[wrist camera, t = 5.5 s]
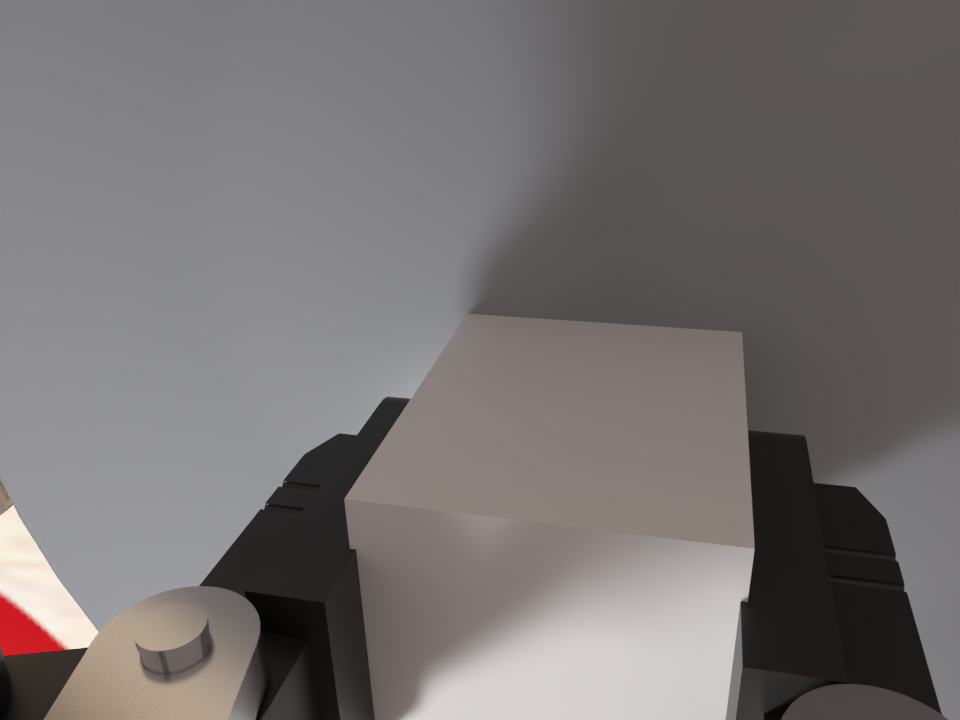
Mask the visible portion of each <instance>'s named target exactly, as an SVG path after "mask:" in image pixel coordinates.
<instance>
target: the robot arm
mask: <svg viewBox="0 0 960 720" xmlns="http://www.w3.org/2000/svg"><path fill="white" fill-rule="evenodd" d="M409 401H410V399H408V398H397V397H386V398H384V399H383V400H382V401H381V403H380V404H379V405H378V407H377V408H376V409H375V411H374V412H373V414H372V415H371V416H370V418H369V419H368V420H367V422H366V423H365V425H364V426H363V427H362V429H361V430H360V432H359V433H358V434H357V435H351V434H341V433H339V434H337V435H335V436H334V437H332V438H330V439H329V440H327V441H325V442H324V443H322V444H320V445H319V446H317V447H316V448H314V449H312V450H311V451H309V452H307V453H306V454H304V455H303V456H302V458H301V459H300V460H299V461H298V463H297V464H296V465H295V466H294V468H293V469H292V470H291V471H290V473H289V474H288V475H287V476H286V478H285V479H284V480H283V485H282V487H279V486H278V488H277V489H276V490H275V491H274V493H273V494H272V495H271V496H270V498H269V499H268V500H267V501H266V503H265V508H264V510H263V509H260V510H259V511H258V513H257V514H256V515H255V516H254V518H253V519H252V520H251V521H250V523H249V524H248V525H247V526H246V528H245V529H244V530H243V531H242V533H241V534H240V535H239V537H238V538H237V539H236V540H235V542H234V543H233V544H232V545H231V547H230V548H229V549H228V550H227V552H226V553H225V554H224V555H223V557H222V558H221V559H220V560H219V562H218V563H217V564H216V565H215V567H214V568H213V569H212V570H211V572H210V573H209V574H208V575H207V577H206V578H205V579H204V580H203V582H202V583H201V584H200V585H199V586H192V587H184V588H177V589H173V590H169V591H165V592H161V593H158V594H156V595H153V596H150V597H148V598H145V599H143V600H141V601H139V602H137V603H135V604H133V605H132V606H130V607H128V608H127V609H125V610H123V611H122V612H120V613H119V614H118V615H117V616H115V617H114V618H113V619H112V620H110V621H109V622H108V623H107V624H106V625H105V626H104V627H103V628H102V629H101V630H100V632H99V633H98V634H97V636H96V637H95V638H94V640H93V641H92V643H91V644H90V646H89V647H88V648H81V649H71V650H61V651H51V652H40V653H30V654H20V655H9V656H3V653H2V650H1V648H0V720H375V717H374V708H373V699H372V690H371V681H370V671H369V662H368V653H367V644H366V635H365V626H364V617H363V608H362V599H361V589H360V580H359V571H358V562H357V553H356V549H350V546H349V537H348V528H347V519H346V510H345V502H344V499H345V497H346V496H347V494H348V493H349V491H350V490H351V488H352V487H353V485H354V484H355V482H356V481H357V479H358V478H359V476H360V475H361V473H362V472H363V470H364V469H365V467H366V465H367V464H368V462H369V461H370V459H371V458H372V456H373V455H374V453H375V452H376V450H377V449H378V447H379V446H380V444H381V443H382V441H383V440H384V438H385V437H386V435H387V434H388V432H389V431H390V429H391V428H392V426H393V425H394V423H395V422H396V420H397V419H398V417H399V416H400V414H401V413H402V411H403V410H404V408H405V407H406V405H407V404H408V402H409ZM748 442H749V459H750V477H751V494H752V511H753V528H754V545H755V550H754V558H753V565H752V573H751V581H750V588H749V596H748V602H742V601H741V602H740V610H739V618H738V625H737V633H736V641H735V649H734V657H733V665H732V673H731V681H730V689H729V697H728V705H727V713H726V720H948V719H947V718H946V717H944V716H943V715H942V713H941V710H940V706H939V703H938V699H937V696H936V692H935V689H934V685H933V682H932V678H931V675H930V671H929V668H928V664H927V661H926V657H925V654H924V650H923V647H922V643H921V640H920V636H919V633H918V629H917V626H916V622H915V619H914V615H913V612H912V608H911V605H910V601H909V598H908V594H907V592H904V585H905V584H904V580H903V577H902V573H901V570H900V566H899V563H898V561H896V552H895V549H894V545H893V542H892V538H891V535H890V531H889V528H888V524H887V521H886V518H885V517H884V516H883V515H882V514H881V513H880V512H879V511H878V510H877V509H876V508H875V507H874V506H873V505H872V504H871V503H870V502H869V501H868V500H867V498H866V497H865V496H864V495H863V494H862V493H861V492H860V491H859V490H858V489H857V488H856V487H849V486H840V485H830V484H820V483H814V482H813V476H812V470H811V464H810V459H809V453H808V447H807V441H806V438H805V436H804V435H795V434H784V433H774V432H763V431H752V430H748Z"/></svg>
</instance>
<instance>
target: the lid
mask: <svg viewBox="0 0 960 720" xmlns="http://www.w3.org/2000/svg"><path fill="white" fill-rule="evenodd" d="M386 397H397V398H408V399H410V401H409V402H408V404H407V405H406V407H405V408H404V410H403V411H402V413H401V414H400V416H399V417H398V419H397V420H396V422H395V423H394V425H393V426H392V428H391V429H390V431H389V432H388V434H387V435H386V437H385V438H384V440H383V441H382V443H381V444H380V446H379V447H378V449H377V450H376V452H375V453H374V455H373V456H372V458H371V459H370V461H369V462H368V464H367V465H366V467H365V469H364V470H363V472H362V473H361V475H360V476H359V478H358V479H357V481H356V482H355V484H354V485H353V487H352V488H351V490H350V491H349V493H348V494H347V496H346V497H345V499H344V502H345V510H346V519H347V528H348V537H349V546H350V549H356V553H357V562H358V571H359V580H360V589H361V599H362V608H363V617H364V626H365V635H366V644H367V653H368V662H369V671H370V681H371V690H372V699H373V708H374V717H375V720H726V713H727V705H728V697H729V689H730V681H731V673H732V665H733V657H734V649H735V641H736V633H737V625H738V618H739V610H740V602H741V601H742V602H748V596H749V588H750V581H751V573H752V565H753V558H754V550H755V545H754V528H753V511H752V494H751V477H750V459H749V442H748V430H752V431H763V432H774V433H784V434H795V435H804V436H805V438H806V441H807V447H808V453H809V459H810V464H811V470H812V476H813V482H814V483H820V484H830V485H840V486H849V487H856V488H857V489H858V490H859V491H860V492H861V493H862V494H863V495H864V496H865V497H866V498H867V500H868V501H869V502H870V503H871V504H872V505H873V506H874V507H875V508H876V509H877V510H878V511H879V512H880V513H881V514H882V515H883V516H884V517H885V518H886V521H887V524H888V528H889V531H890V535H891V538H892V542H893V545H894V549H895V552H896V561H898V563H899V566H900V570H901V573H902V577H903V580H904V584H905V585H904V592H907V594H908V598H909V601H910V605H911V608H912V612H913V615H914V619H915V622H916V626H917V629H918V633H919V636H920V640H921V643H922V647H923V650H924V654H925V657H926V661H927V664H928V668H929V671H930V675H931V678H932V682H933V685H934V689H935V692H936V696H937V699H938V703H939V706H940V710H941V713H942V715H943V716H944V717H946V718H947V719H948V720H960V0H0V478H1V480H2V482H3V484H4V486H5V488H6V490H7V492H8V494H9V497H10V499H11V501H12V503H13V505H14V507H15V509H16V511H17V513H18V515H19V517H20V518H21V520H22V521H23V523H24V525H25V526H26V528H27V529H28V531H29V533H30V534H31V536H32V537H33V539H34V541H35V542H36V544H37V545H38V547H39V549H40V550H41V552H42V553H43V555H44V557H45V558H46V560H47V561H48V563H49V565H50V566H51V568H52V569H53V571H54V573H55V574H56V576H57V577H58V579H59V580H60V582H61V583H62V584H63V585H64V587H65V588H66V589H67V591H68V592H69V593H70V595H71V596H72V597H73V599H74V600H75V601H76V602H77V604H78V605H79V606H80V608H81V609H82V610H83V612H84V613H85V614H86V616H87V617H88V618H89V619H90V621H91V622H92V623H93V625H94V626H95V627H96V629H97V630H98V631H99V632H100V630H101V629H102V628H103V627H104V626H105V625H106V624H107V623H108V622H109V621H110V620H112V619H113V618H114V617H115V616H117V615H118V614H119V613H120V612H122V611H123V610H125V609H127V608H128V607H130V606H132V605H133V604H135V603H137V602H139V601H141V600H143V599H145V598H148V597H150V596H153V595H156V594H158V593H161V592H165V591H169V590H173V589H177V588H184V587H192V586H199V585H200V584H201V583H202V582H203V580H204V579H205V578H206V577H207V575H208V574H209V573H210V572H211V570H212V569H213V568H214V567H215V565H216V564H217V563H218V562H219V560H220V559H221V558H222V557H223V555H224V554H225V553H226V552H227V550H228V549H229V548H230V547H231V545H232V544H233V543H234V542H235V540H236V539H237V538H238V537H239V535H240V534H241V533H242V531H243V530H244V529H245V528H246V526H247V525H248V524H249V523H250V521H251V520H252V519H253V518H254V516H255V515H256V514H257V513H258V511H259V510H260V509H263V510H264V508H265V503H266V501H267V500H268V499H269V498H270V496H271V495H272V494H273V493H274V491H275V490H276V489H277V488H278V486H279V487H282V485H283V480H284V479H285V478H286V476H287V475H288V474H289V473H290V471H291V470H292V469H293V468H294V466H295V465H296V464H297V463H298V461H299V460H300V459H301V458H302V456H303V455H304V454H306V453H307V452H309V451H311V450H312V449H314V448H316V447H317V446H319V445H320V444H322V443H324V442H325V441H327V440H329V439H330V438H332V437H334V436H335V435H337V434H339V433H341V434H351V435H357V434H358V433H359V432H360V430H361V429H362V427H363V426H364V425H365V423H366V422H367V420H368V419H369V418H370V416H371V415H372V414H373V412H374V411H375V409H376V408H377V407H378V405H379V404H380V403H381V401H382V400H383V399H384V398H386Z"/></svg>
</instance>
